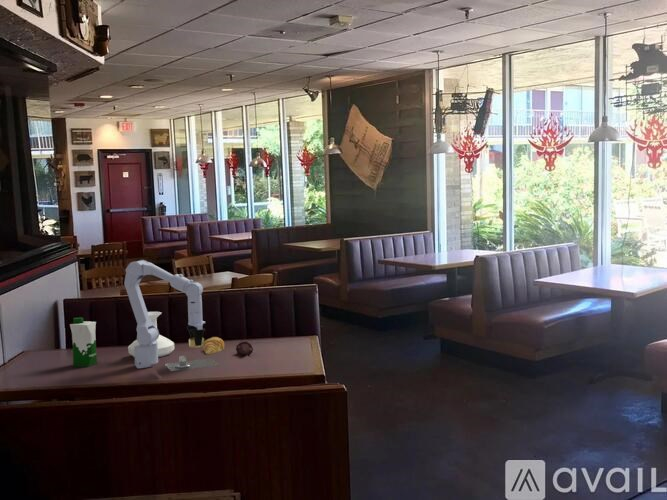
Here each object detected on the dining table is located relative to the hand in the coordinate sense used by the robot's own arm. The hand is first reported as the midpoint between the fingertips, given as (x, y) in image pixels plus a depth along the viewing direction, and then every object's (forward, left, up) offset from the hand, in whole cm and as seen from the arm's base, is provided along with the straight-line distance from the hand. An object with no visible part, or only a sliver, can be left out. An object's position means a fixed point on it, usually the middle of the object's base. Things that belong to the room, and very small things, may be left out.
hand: (196, 344), depth 283 cm
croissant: (+13, +22, -9) cm, 27 cm away
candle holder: (-14, +28, -9) cm, 32 cm away
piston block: (-3, -2, -9) cm, 10 cm away
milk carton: (-42, +27, -9) cm, 50 cm away
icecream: (+22, +5, -9) cm, 25 cm away
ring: (0, 0, -1) cm, 1 cm away
